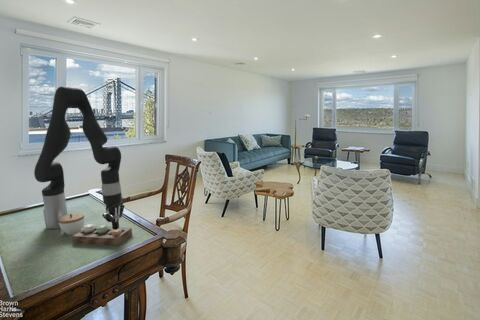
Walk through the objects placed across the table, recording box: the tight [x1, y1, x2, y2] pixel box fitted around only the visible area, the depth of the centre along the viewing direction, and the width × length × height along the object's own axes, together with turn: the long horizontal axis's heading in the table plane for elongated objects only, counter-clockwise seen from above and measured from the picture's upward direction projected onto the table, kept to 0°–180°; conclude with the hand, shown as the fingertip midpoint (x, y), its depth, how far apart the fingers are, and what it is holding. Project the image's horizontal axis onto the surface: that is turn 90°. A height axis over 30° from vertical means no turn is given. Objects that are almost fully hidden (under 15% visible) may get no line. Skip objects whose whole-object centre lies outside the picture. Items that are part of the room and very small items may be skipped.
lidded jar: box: [58, 212, 85, 236], centre depth 132 cm, size 11×11×9 cm
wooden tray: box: [71, 225, 133, 247], centre depth 124 cm, size 22×11×3 cm, turn 80°
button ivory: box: [82, 223, 95, 233], centre depth 125 cm, size 4×4×2 cm
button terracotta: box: [111, 229, 122, 235], centre depth 123 cm, size 4×4×2 cm
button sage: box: [97, 224, 109, 234], centre depth 124 cm, size 4×4×2 cm
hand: (115, 228), depth 122 cm, fingers closed
